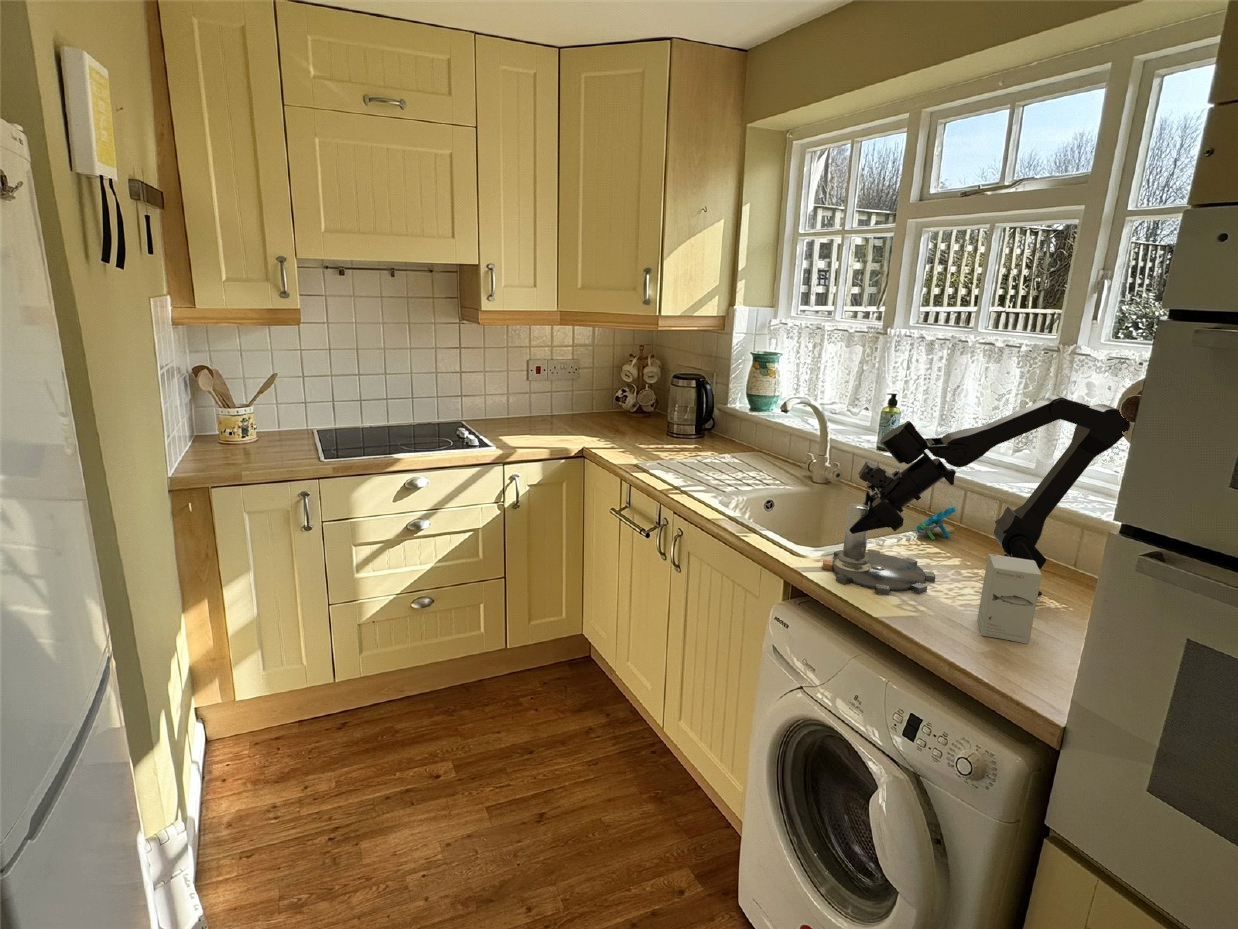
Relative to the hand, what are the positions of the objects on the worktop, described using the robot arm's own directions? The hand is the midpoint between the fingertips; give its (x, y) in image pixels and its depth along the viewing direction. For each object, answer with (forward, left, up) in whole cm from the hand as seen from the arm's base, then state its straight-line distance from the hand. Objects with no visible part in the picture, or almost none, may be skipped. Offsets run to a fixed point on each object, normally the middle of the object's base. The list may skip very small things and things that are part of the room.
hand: (850, 528), depth 148 cm
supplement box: (-28, -16, -9) cm, 34 cm away
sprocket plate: (-2, -6, -9) cm, 11 cm away
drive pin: (0, -1, -7) cm, 7 cm away
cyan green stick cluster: (+21, -31, -9) cm, 38 cm away
